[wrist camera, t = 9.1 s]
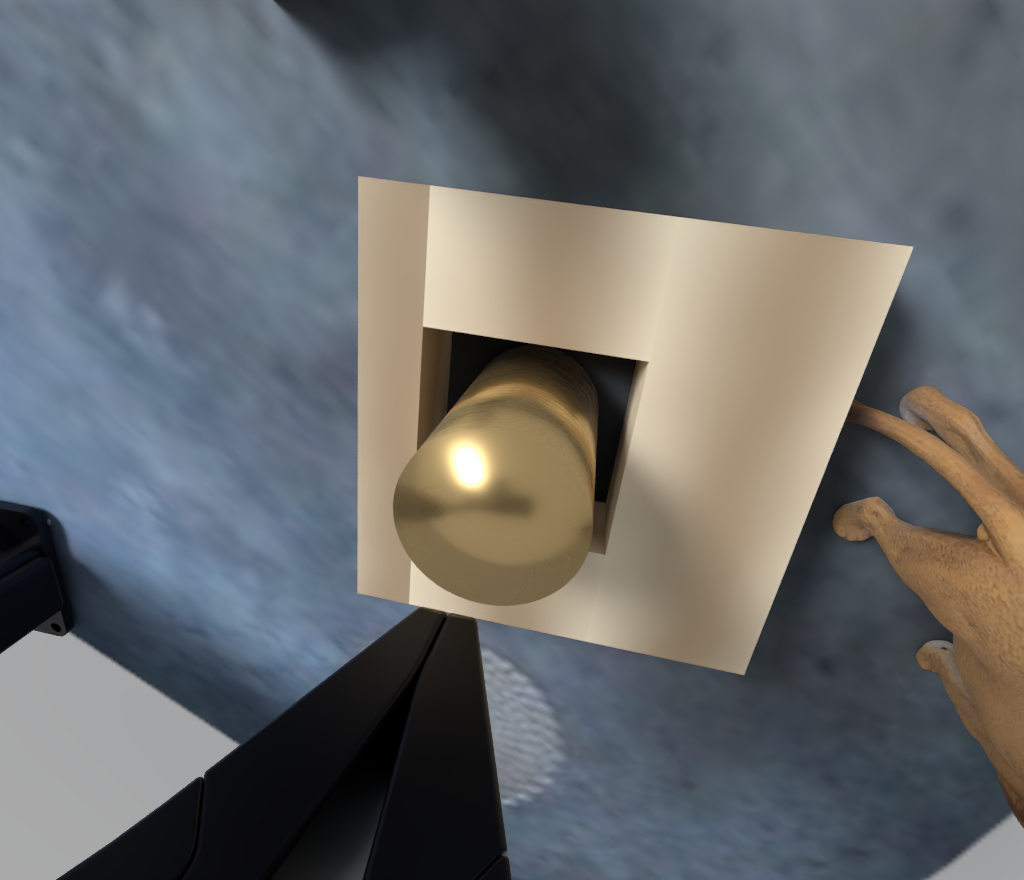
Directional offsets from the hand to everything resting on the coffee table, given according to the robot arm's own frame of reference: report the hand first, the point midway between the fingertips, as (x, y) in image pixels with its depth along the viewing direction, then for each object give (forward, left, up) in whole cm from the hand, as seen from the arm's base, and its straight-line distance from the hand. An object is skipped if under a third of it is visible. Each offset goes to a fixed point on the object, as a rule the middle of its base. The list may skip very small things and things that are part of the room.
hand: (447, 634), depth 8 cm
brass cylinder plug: (0, 0, -10) cm, 10 cm away
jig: (+1, 0, -10) cm, 10 cm away
